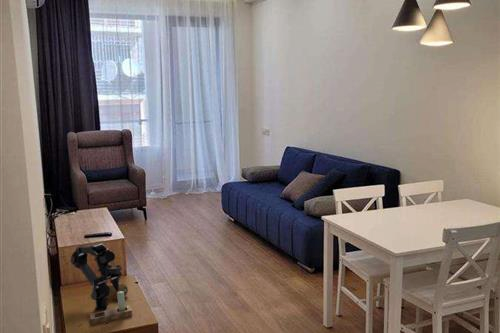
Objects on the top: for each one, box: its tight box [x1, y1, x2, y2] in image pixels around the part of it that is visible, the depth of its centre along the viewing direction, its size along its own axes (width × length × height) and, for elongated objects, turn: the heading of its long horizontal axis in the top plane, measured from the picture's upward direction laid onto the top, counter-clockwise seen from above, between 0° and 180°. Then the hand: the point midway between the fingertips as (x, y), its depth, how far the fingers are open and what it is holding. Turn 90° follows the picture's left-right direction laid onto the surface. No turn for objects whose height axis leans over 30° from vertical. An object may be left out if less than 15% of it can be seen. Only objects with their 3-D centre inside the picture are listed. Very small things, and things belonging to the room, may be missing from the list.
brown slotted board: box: [90, 304, 133, 325], centre depth 250 cm, size 21×7×3 cm, turn 111°
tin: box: [106, 282, 129, 300], centre depth 275 cm, size 15×3×8 cm, turn 94°
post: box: [116, 291, 126, 312], centre depth 251 cm, size 4×4×13 cm
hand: (112, 292), depth 252 cm, fingers open, 9 cm apart
